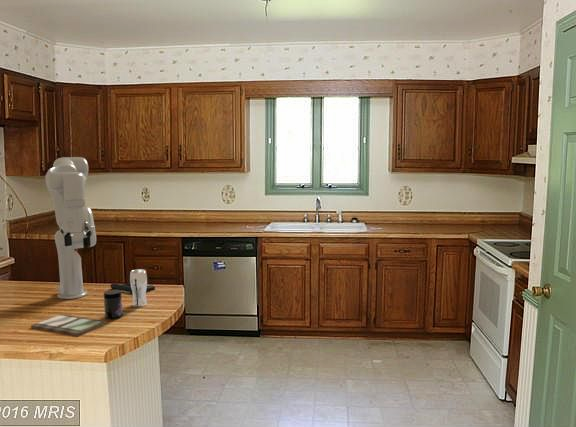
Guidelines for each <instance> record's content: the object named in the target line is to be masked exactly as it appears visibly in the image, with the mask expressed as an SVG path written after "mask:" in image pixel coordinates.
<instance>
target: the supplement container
mask: <svg viewBox="0 0 576 427" xmlns="http://www.w3.org/2000/svg"><path fill="white" fill-rule="evenodd" d="M122 295H123V294H122V291H121V290H115V289H110V290H106V291H104V292H103V302H104V303H103V304H104V317H105V318H106V319H107V320H118V319H121V318H122V317H123V302H122V301H123V300H122Z"/></svg>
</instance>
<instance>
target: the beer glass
mask: <svg viewBox="0 0 576 427" xmlns="http://www.w3.org/2000/svg"><path fill="white" fill-rule="evenodd" d="M129 273H130V274H129V283H130V284H131V289H132V293H131V294H132V298H133V299H132V306H133V307H138V308H139V307H140V308H141V307H144V306H147V304H148V301H147V296H146V295H147V292H146V288H147V286H148V276H147V269H145V268H143V269H142V268H140V269H139V268H138V269H132V270H131V271H130V272H129Z"/></svg>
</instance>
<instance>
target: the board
mask: <svg viewBox="0 0 576 427" xmlns="http://www.w3.org/2000/svg"><path fill="white" fill-rule="evenodd" d="M107 324H108V320H103V319H102V320H101V319H96V318H91V317H82V316H76V315H71V314H62V313H60V314H58V315H55V316H51V317H50V318H46V319H44V320H41V321H39V322H36V323H34V324H31V325H30V327H31V329H36V330H41V331H47V332H53V333H57V334H58V333H60V334H64V335H71V336H77V337H80V336H83V335H85V334H87V333H89V332H91V331H94V330H96V329H98V328H100V327H103V326H105V325H107Z"/></svg>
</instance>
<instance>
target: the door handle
mask: <svg viewBox="0 0 576 427" xmlns="http://www.w3.org/2000/svg"><path fill="white" fill-rule="evenodd" d="M155 287H156V286H155V285H152V284H151V285H147V288H146V293H147V292H151V291H154V290H156V289H155ZM110 288H111V290H121V293H122V292H123V293H126V294H133V293H132V289H131V284H130V282H125V283H121V284H120V283H116V282H113V283H111V284H110Z"/></svg>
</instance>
